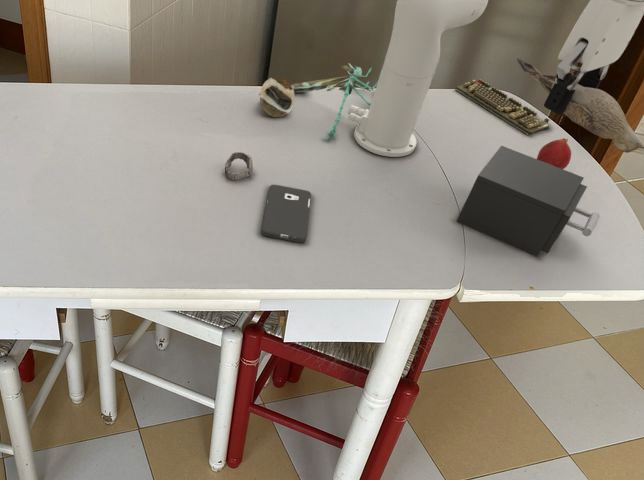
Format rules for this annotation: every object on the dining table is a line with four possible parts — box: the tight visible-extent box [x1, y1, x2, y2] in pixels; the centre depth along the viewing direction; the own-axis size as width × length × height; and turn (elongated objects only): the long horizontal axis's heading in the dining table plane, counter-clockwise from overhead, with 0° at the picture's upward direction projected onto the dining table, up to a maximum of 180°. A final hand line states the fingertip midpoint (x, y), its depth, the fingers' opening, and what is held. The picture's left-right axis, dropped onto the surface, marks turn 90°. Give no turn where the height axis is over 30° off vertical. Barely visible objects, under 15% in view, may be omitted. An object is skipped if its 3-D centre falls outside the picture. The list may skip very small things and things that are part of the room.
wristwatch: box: [224, 151, 254, 181], centre depth 127 cm, size 4×6×5 cm
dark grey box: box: [456, 145, 585, 258], centre depth 121 cm, size 15×13×10 cm
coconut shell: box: [258, 76, 296, 118], centre depth 144 cm, size 8×8×6 cm
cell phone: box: [260, 184, 312, 244], centre depth 121 cm, size 8×15×1 cm, turn 169°
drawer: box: [540, 183, 601, 255], centre depth 120 cm, size 18×12×8 cm, turn 54°
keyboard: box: [454, 78, 551, 136], centre depth 154 cm, size 22×9×2 cm, turn 31°
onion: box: [536, 137, 572, 170], centre depth 134 cm, size 6×6×8 cm
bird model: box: [516, 57, 644, 153], centre depth 105 cm, size 29×6×5 cm, turn 24°
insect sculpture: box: [290, 62, 382, 141], centre depth 148 cm, size 6×20×30 cm
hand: (566, 104), depth 108 cm, fingers closed on bird model, 6 cm apart
